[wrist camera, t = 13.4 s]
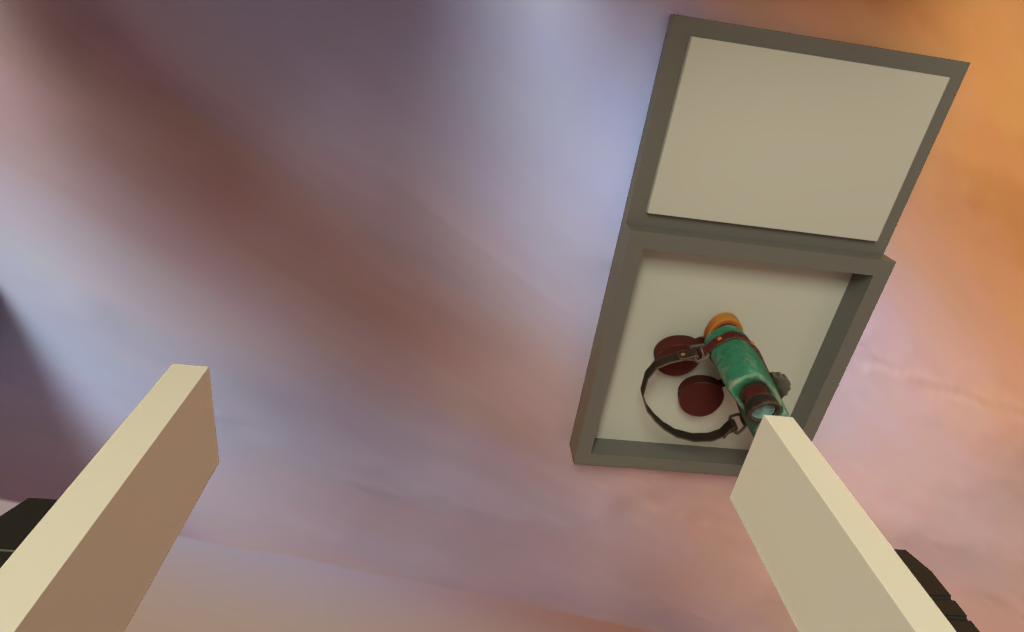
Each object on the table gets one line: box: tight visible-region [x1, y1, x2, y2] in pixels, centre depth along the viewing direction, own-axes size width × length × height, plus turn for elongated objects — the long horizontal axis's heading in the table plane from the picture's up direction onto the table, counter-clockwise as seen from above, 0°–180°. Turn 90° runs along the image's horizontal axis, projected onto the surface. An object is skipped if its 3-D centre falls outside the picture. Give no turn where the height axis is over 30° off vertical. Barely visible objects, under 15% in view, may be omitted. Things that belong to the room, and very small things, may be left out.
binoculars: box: [640, 312, 791, 442], centre depth 43 cm, size 9×11×10 cm
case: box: [570, 14, 970, 476], centre depth 44 cm, size 33×19×2 cm, turn 172°
